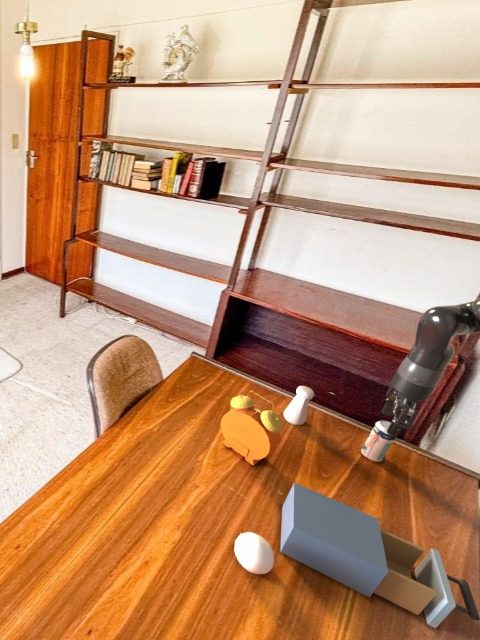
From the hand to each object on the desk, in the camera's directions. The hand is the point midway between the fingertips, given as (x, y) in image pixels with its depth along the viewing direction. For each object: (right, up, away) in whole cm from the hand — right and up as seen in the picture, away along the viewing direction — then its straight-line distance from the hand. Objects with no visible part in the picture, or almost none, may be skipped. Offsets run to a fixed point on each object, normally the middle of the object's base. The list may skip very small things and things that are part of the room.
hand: (388, 423), depth 106 cm
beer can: (0, -12, +5) cm, 13 cm away
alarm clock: (-37, -10, +6) cm, 38 cm away
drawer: (-21, -24, -25) cm, 41 cm away
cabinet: (-32, -21, -18) cm, 43 cm away
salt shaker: (-15, -6, +17) cm, 23 cm away
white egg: (-50, -22, -20) cm, 58 cm away
